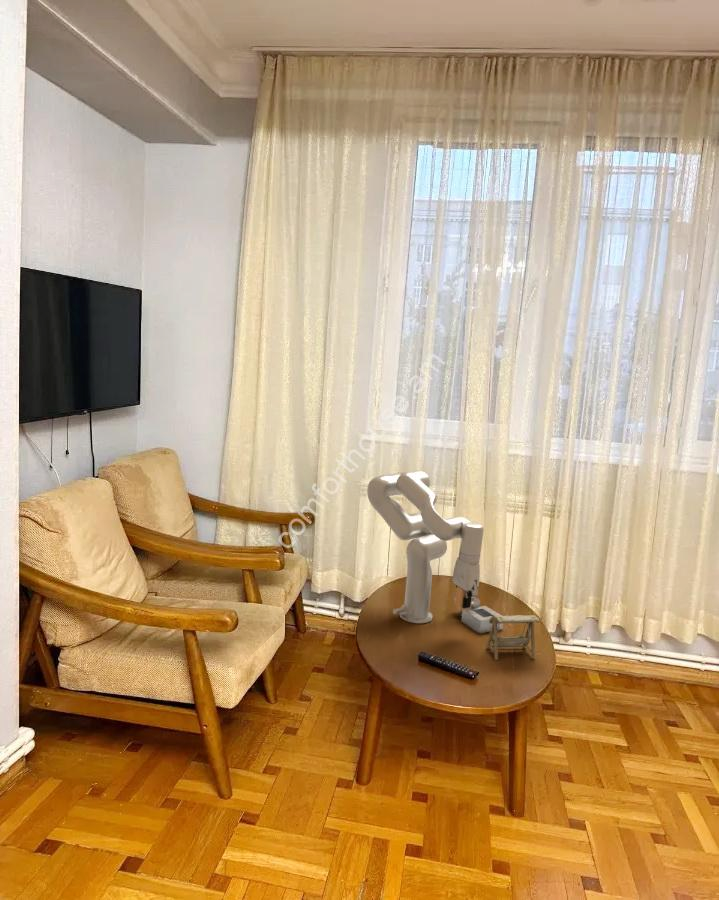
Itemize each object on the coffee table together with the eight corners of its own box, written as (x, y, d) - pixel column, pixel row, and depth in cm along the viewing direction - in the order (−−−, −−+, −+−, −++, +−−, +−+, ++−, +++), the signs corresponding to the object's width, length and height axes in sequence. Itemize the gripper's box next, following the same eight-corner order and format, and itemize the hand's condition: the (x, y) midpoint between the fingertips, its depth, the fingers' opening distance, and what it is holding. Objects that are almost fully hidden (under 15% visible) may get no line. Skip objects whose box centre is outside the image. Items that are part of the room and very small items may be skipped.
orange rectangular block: (470, 609, 247) (473, 588, 246) (459, 610, 245) (462, 589, 243) (465, 605, 250) (468, 585, 248) (454, 607, 247) (457, 586, 246)
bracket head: (479, 633, 252) (484, 581, 248) (446, 612, 269) (451, 563, 266) (502, 629, 257) (508, 578, 254) (469, 608, 275) (474, 561, 271)
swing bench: (524, 647, 243) (529, 608, 240) (535, 660, 233) (540, 619, 231) (485, 648, 240) (489, 608, 238) (494, 660, 231) (499, 619, 228)
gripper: (447, 550, 249) (441, 597, 252) (474, 566, 235) (468, 616, 238) (464, 548, 253) (458, 595, 256) (492, 564, 239) (485, 613, 242)
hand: (463, 605), depth 247 cm, fingers closed on orange rectangular block, 3 cm apart
